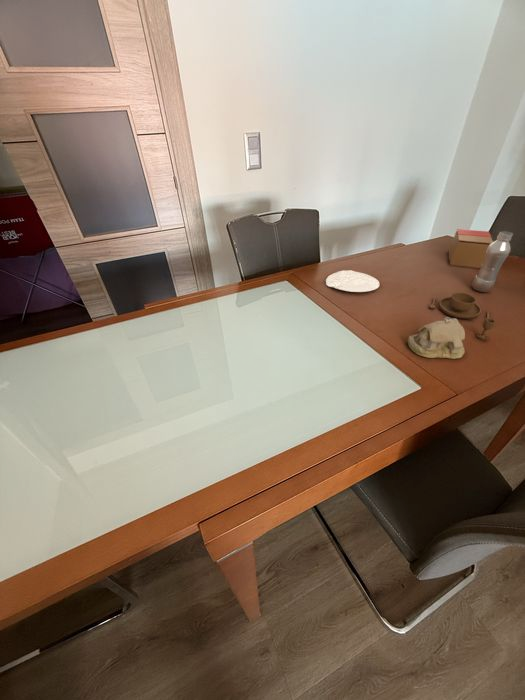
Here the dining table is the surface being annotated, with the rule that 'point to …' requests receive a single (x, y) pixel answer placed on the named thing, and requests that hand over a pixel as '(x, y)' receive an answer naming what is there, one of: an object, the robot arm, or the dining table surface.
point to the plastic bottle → (492, 262)
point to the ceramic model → (439, 339)
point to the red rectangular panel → (473, 233)
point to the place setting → (464, 310)
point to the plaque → (352, 281)
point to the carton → (469, 250)
